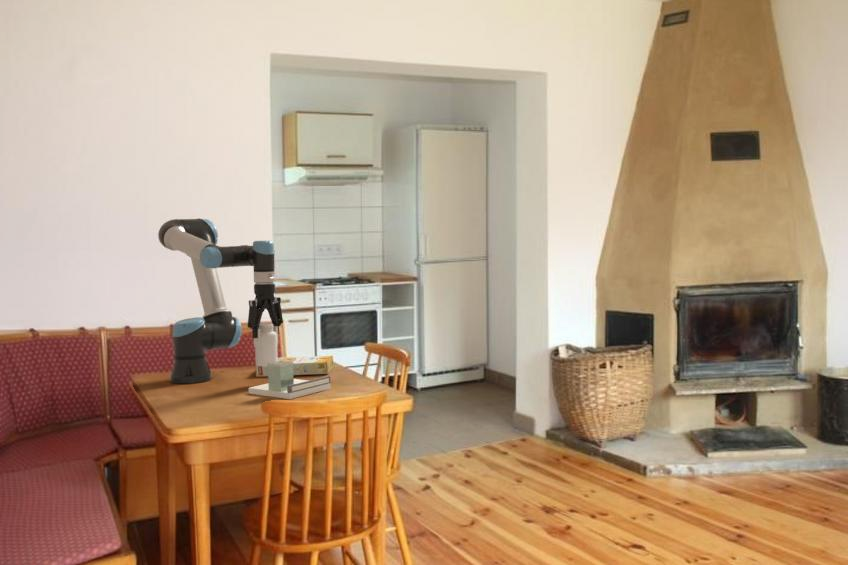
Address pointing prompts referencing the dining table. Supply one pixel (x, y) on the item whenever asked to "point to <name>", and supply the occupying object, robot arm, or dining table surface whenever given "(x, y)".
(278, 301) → the robot arm
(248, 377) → the dining table surface
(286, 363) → the tea tin
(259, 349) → the pill bottle
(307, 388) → the flat white tray
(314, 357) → the cereal box
